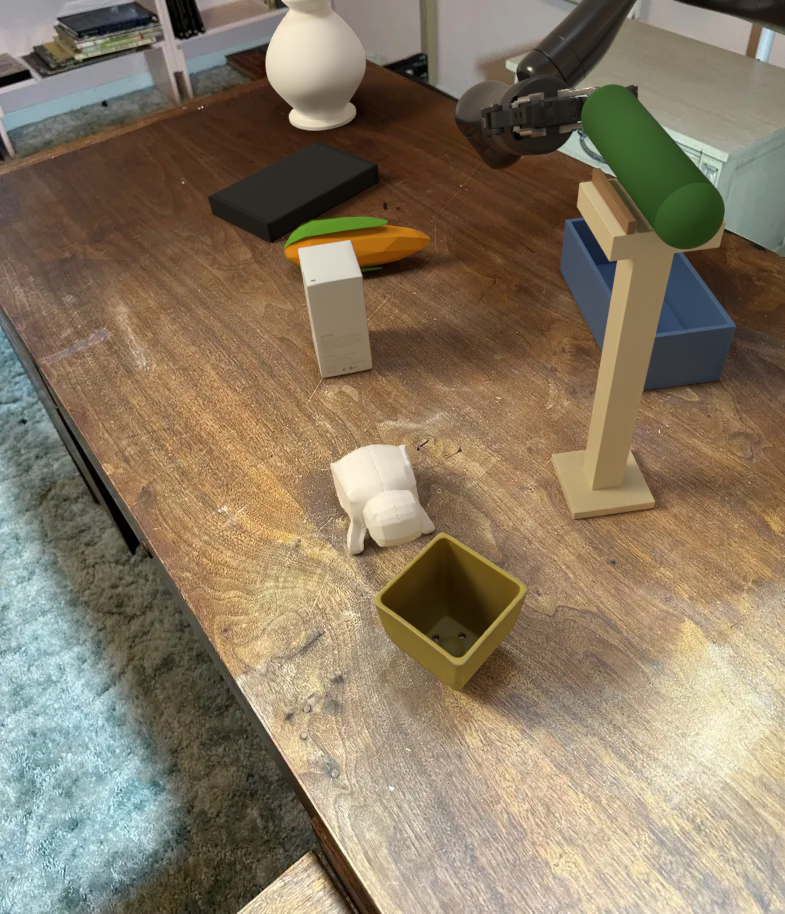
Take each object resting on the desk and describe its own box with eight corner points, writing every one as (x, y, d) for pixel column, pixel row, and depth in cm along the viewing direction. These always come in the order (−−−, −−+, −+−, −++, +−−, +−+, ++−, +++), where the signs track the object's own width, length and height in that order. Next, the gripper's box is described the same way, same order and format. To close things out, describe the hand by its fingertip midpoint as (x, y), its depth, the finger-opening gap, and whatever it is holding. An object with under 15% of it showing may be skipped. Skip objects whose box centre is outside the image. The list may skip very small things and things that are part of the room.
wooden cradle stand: (623, 443, 80) (684, 156, 58) (653, 508, 74) (736, 216, 52) (548, 453, 80) (580, 169, 57) (572, 519, 74) (620, 231, 51)
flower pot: (524, 646, 65) (531, 586, 58) (460, 722, 61) (460, 667, 54) (444, 590, 69) (442, 529, 63) (379, 658, 65) (369, 599, 59)
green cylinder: (571, 133, 64) (577, 79, 61) (623, 127, 64) (631, 72, 61) (661, 266, 50) (674, 204, 47) (727, 257, 50) (744, 195, 47)
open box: (641, 259, 103) (651, 208, 98) (719, 380, 86) (736, 326, 80) (559, 270, 103) (565, 219, 97) (622, 393, 85) (632, 340, 80)
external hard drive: (212, 213, 120) (207, 195, 118) (320, 158, 131) (317, 140, 128) (270, 243, 113) (266, 224, 110) (379, 181, 123) (378, 163, 121)
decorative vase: (335, 144, 134) (314, -18, 116) (256, 127, 141) (225, -28, 123) (388, 104, 144) (377, -50, 126) (311, 90, 151) (291, -58, 133)
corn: (280, 208, 104) (427, 196, 103) (290, 255, 110) (429, 244, 109) (278, 240, 99) (431, 227, 99) (288, 288, 105) (433, 276, 104)
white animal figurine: (334, 514, 80) (363, 591, 67) (317, 441, 76) (344, 508, 63) (412, 493, 81) (456, 564, 68) (398, 420, 78) (442, 481, 64)
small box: (373, 369, 91) (363, 276, 82) (321, 379, 91) (304, 286, 81) (362, 329, 97) (351, 238, 87) (312, 338, 96) (296, 247, 87)
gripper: (595, 145, 84) (661, 140, 69) (468, 164, 83) (507, 163, 68) (593, 70, 81) (661, 47, 66) (462, 88, 80) (501, 69, 65)
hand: (583, 106), depth 67 cm, fingers open, 8 cm apart
